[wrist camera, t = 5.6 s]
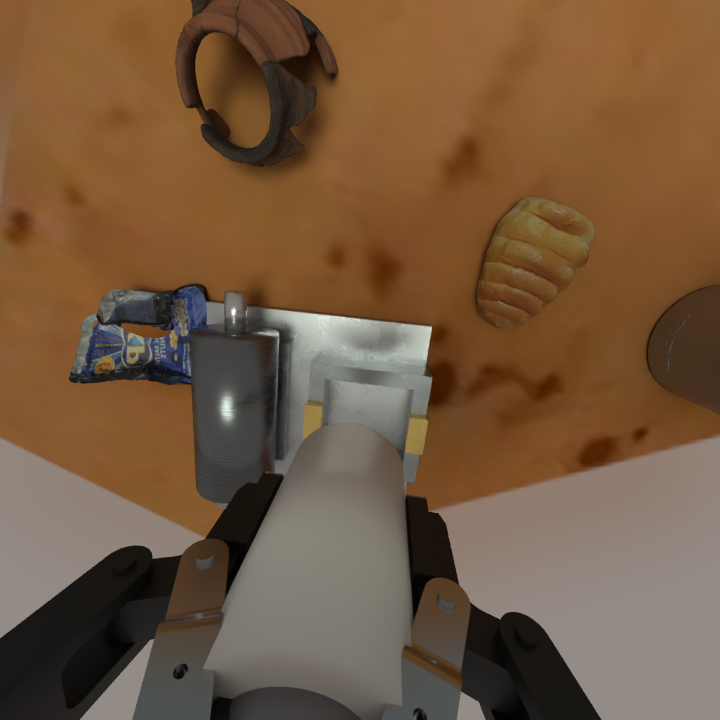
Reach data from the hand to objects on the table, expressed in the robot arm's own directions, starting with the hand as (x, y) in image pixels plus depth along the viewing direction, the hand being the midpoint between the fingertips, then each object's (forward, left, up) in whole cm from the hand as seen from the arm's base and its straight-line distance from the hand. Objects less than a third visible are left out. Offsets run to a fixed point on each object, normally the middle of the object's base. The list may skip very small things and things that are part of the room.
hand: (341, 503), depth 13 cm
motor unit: (+5, +3, -17) cm, 18 cm away
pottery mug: (+10, -21, -18) cm, 29 cm away
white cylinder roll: (0, 0, -2) cm, 2 cm away
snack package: (+19, -2, -18) cm, 26 cm away
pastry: (-11, -10, -18) cm, 24 cm away
